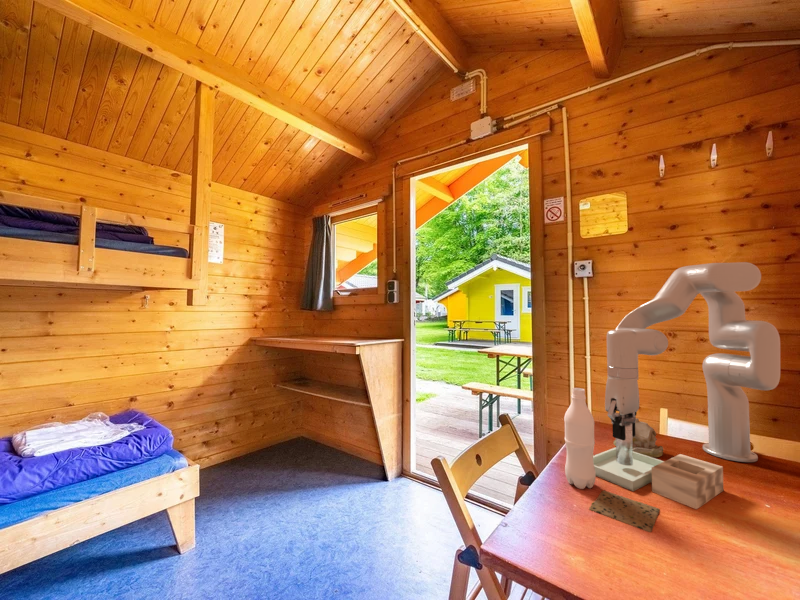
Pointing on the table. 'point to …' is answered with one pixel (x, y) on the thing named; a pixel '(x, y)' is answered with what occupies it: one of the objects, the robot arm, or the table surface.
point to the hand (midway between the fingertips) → (624, 436)
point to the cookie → (626, 510)
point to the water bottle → (579, 442)
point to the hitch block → (687, 480)
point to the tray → (625, 469)
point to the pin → (625, 443)
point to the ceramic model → (645, 440)
